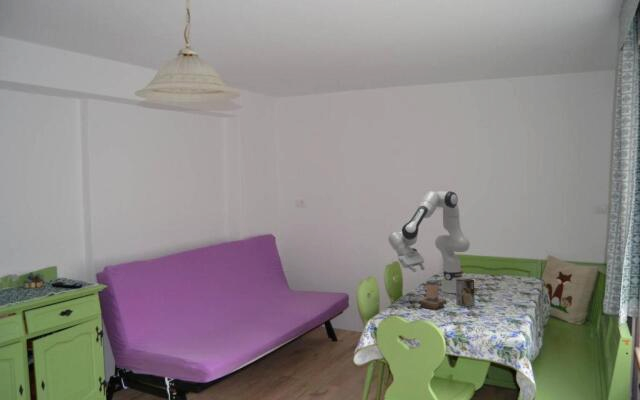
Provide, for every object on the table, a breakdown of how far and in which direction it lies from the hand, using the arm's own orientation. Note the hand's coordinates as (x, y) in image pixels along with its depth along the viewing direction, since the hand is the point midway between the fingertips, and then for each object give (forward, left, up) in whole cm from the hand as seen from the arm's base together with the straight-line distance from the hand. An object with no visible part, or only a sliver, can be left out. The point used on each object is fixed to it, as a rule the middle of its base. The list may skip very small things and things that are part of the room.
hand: (419, 270), depth 313 cm
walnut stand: (0, +9, -22) cm, 23 cm away
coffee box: (-17, +22, -22) cm, 35 cm away
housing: (0, +9, -18) cm, 20 cm away
